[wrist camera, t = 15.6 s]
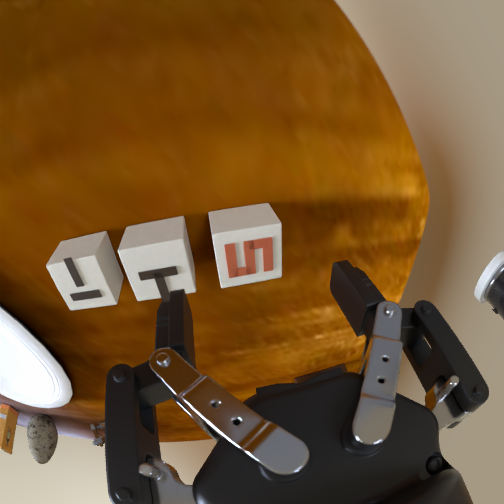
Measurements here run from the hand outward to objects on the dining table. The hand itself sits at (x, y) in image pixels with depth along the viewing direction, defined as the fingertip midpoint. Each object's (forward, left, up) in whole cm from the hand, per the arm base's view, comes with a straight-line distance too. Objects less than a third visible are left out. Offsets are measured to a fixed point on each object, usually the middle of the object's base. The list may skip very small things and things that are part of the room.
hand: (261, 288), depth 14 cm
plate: (+33, +9, -6) cm, 34 cm away
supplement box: (+49, +28, -6) cm, 56 cm away
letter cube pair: (+8, 0, -6) cm, 10 cm away
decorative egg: (+39, +29, -6) cm, 49 cm away
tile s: (0, 0, -6) cm, 6 cm away
